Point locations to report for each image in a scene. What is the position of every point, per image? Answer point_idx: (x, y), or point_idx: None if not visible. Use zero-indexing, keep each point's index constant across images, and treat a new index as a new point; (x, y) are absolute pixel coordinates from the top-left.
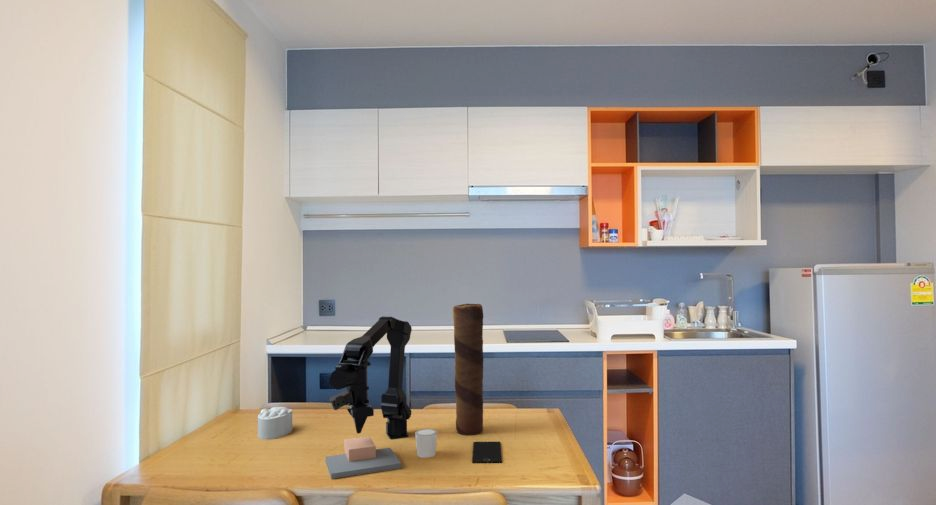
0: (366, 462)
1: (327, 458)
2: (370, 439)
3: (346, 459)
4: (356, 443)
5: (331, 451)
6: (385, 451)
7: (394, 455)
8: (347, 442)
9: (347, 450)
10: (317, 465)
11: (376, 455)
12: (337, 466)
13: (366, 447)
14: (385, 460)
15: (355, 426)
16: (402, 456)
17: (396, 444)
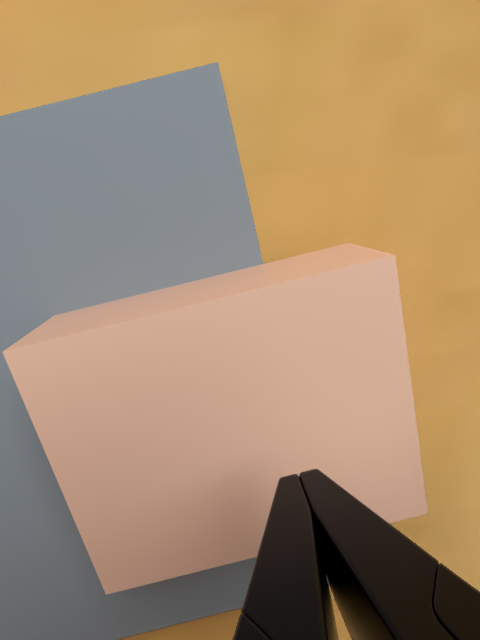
0: (24, 455)
1: (157, 91)
2: None
3: (109, 287)
4: (214, 412)
5: (473, 106)
6: (254, 561)
7: (159, 620)
8: (271, 307)
9: (125, 312)
10: (124, 3)
11: None
12: None
13: (76, 518)
14: (59, 577)
15: (330, 528)
16: (232, 623)
17: (469, 577)
